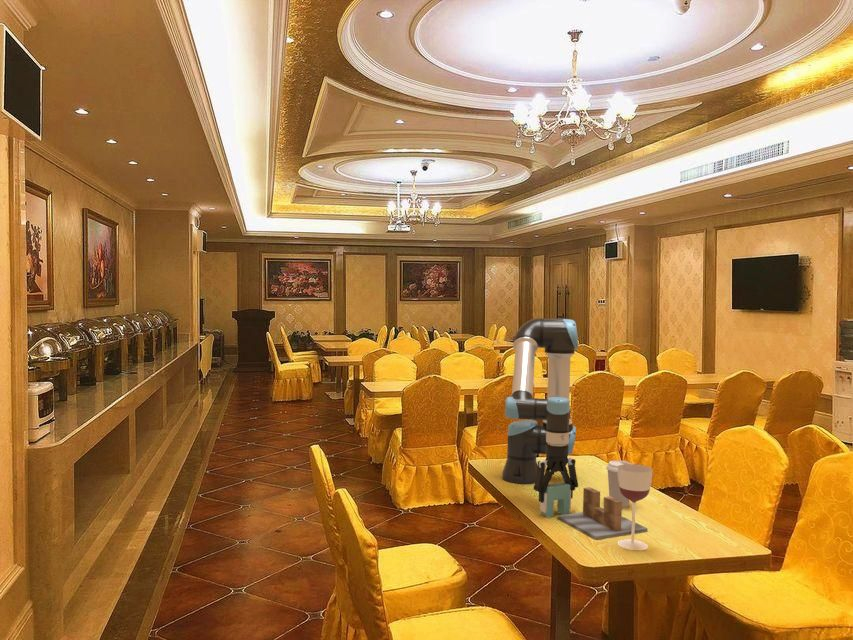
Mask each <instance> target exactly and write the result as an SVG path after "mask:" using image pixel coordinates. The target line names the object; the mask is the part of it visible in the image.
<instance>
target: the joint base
mask: <svg viewBox="0 0 853 640" xmlns="http://www.w3.org/2000/svg"><path fill="white" fill-rule="evenodd" d="M582 492H583V496H582V497H583V499H582V512H581V511H580V512H575V513H574V512H573V513H570V514H566V515H562V514H560V515H559V514H558V515H557V516H556V517H557V520H559V521H561V522H562V523H565V524H566V525H568V526H570V527H571V528H573V529H575V530H577V531H579V532H581V533H583V534H584V535H586V536H588V537H590V538H591V539H593V540H595V541H596V540H597V541H598V540H599V541H600V540H603V539H610V538H617V537H622V536H623V537H624V536H628V535H631V532H632V519H629V518H626V517H624V516H622V515H623V514H622V513H623V512H622V511H623V510H622V509H623V508H622V501H620V500H618V499H616V498H613V497H611V496H609V495H607V496H603V507H601V491H599V490H597V489H595V488H592V487H590V486H588V487H583V491H582ZM646 532H648V528H647V527H646V526H643V525H641V524H639V523H637V522H635V534H641V533H646Z"/></svg>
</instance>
